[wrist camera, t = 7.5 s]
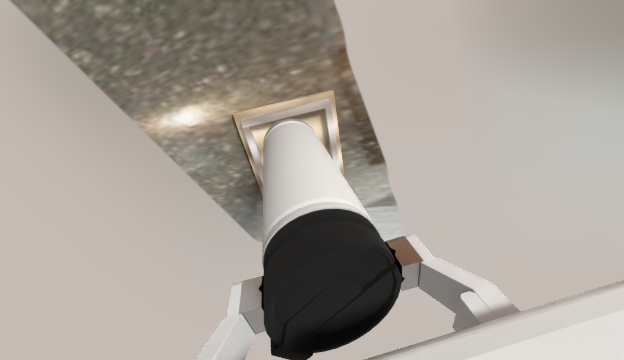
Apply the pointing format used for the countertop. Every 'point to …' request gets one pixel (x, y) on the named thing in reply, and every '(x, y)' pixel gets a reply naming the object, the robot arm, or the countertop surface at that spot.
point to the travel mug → (318, 250)
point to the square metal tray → (307, 109)
